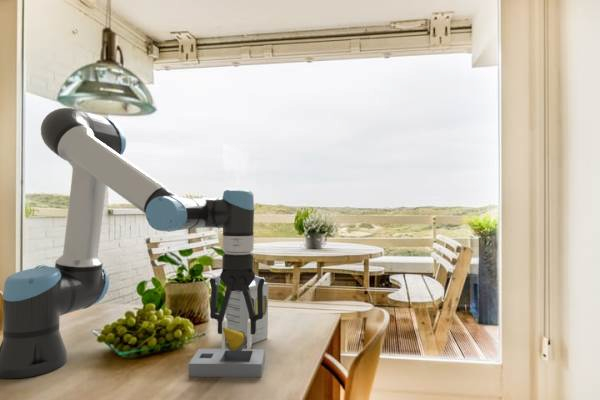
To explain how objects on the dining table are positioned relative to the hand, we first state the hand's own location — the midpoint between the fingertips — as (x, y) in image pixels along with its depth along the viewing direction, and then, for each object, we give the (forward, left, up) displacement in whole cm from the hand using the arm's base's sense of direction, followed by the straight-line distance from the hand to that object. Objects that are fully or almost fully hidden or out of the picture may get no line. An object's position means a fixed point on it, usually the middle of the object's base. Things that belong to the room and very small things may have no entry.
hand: (236, 346), depth 101 cm
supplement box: (0, +22, -6) cm, 23 cm away
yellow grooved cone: (0, 0, -2) cm, 2 cm away
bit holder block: (-2, 0, -5) cm, 6 cm away
